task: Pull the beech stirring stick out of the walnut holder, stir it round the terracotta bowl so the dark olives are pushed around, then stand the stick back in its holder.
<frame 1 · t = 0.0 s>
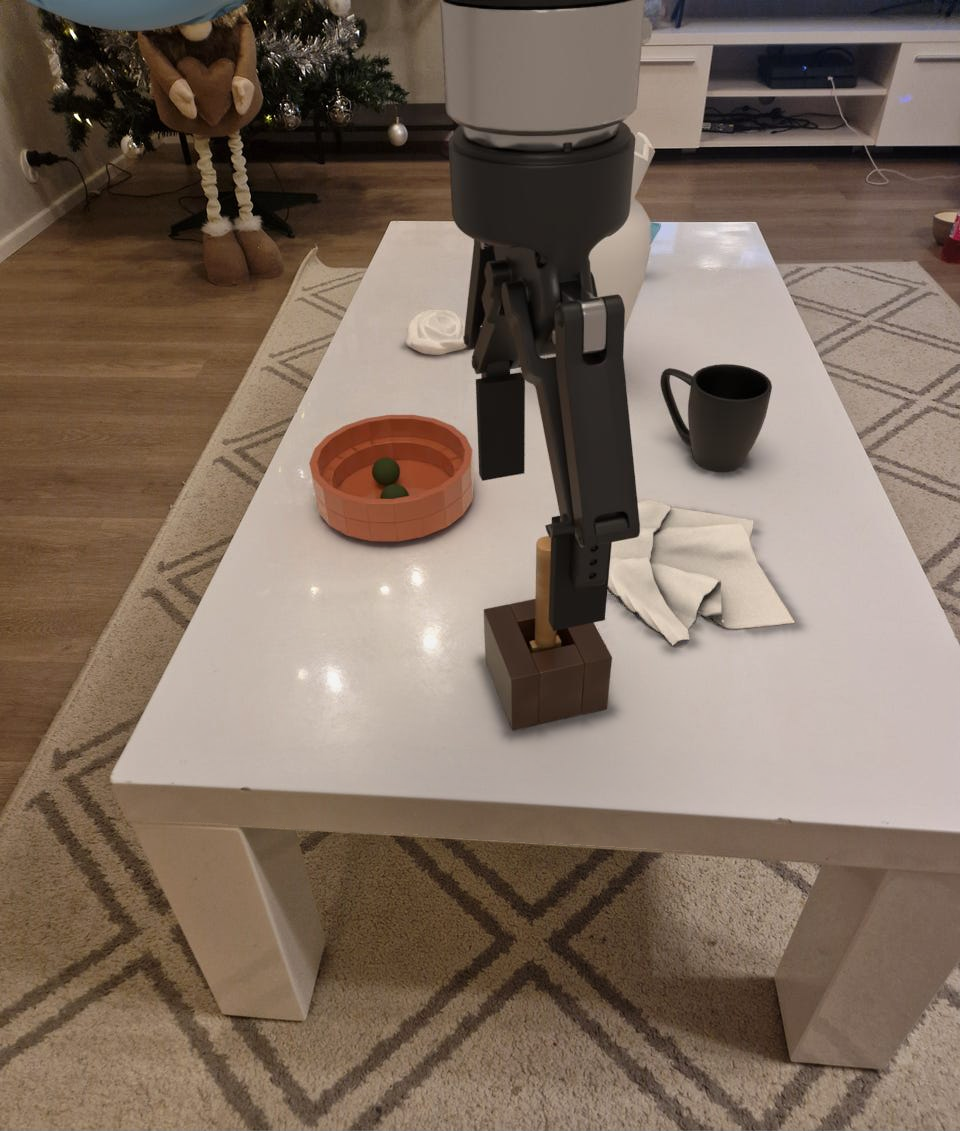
hand: (535, 540, 48), 24 cm above the table, tool pointing down, fingers open, 13 cm apart
holder: (544, 683, 71), on the table
olive a: (386, 471, 92), point 2 cm above the table, touching bowl
vase: (578, 386, 110), on the table
bowl: (396, 499, 92), on the table
olive b: (394, 498, 88), point 2 cm above the table, touching bowl
stick: (546, 618, 66), in the holder
rose: (440, 342, 121), on the table
mug: (702, 454, 97), on the table
cloth: (681, 571, 82), on the table
teapot: (585, 278, 137), on the table
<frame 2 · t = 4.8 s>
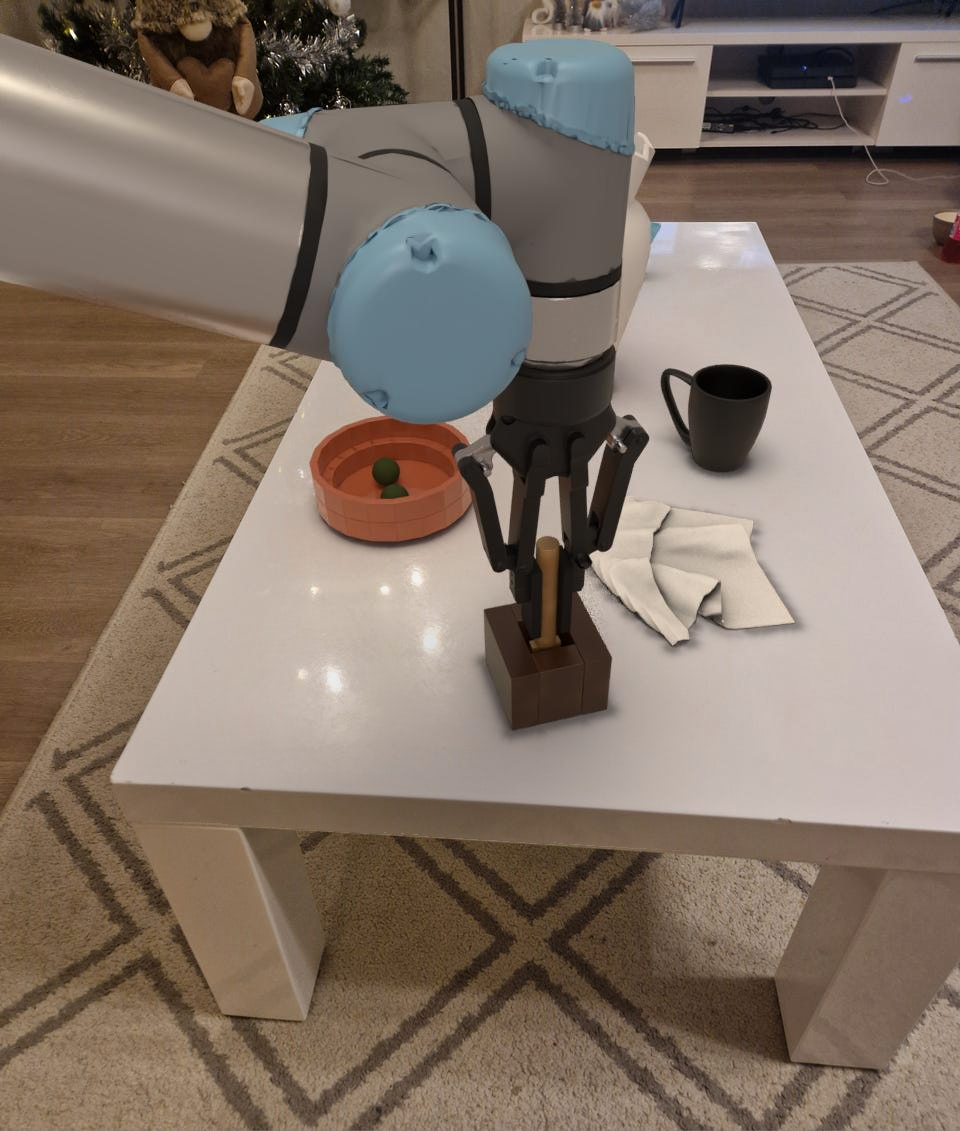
hand: (545, 623, 67), 7 cm above the table, tool pointing down, fingers closed on stick, 2 cm apart
stick: (545, 618, 66), in the holder, touching gripper
everything else where it was.
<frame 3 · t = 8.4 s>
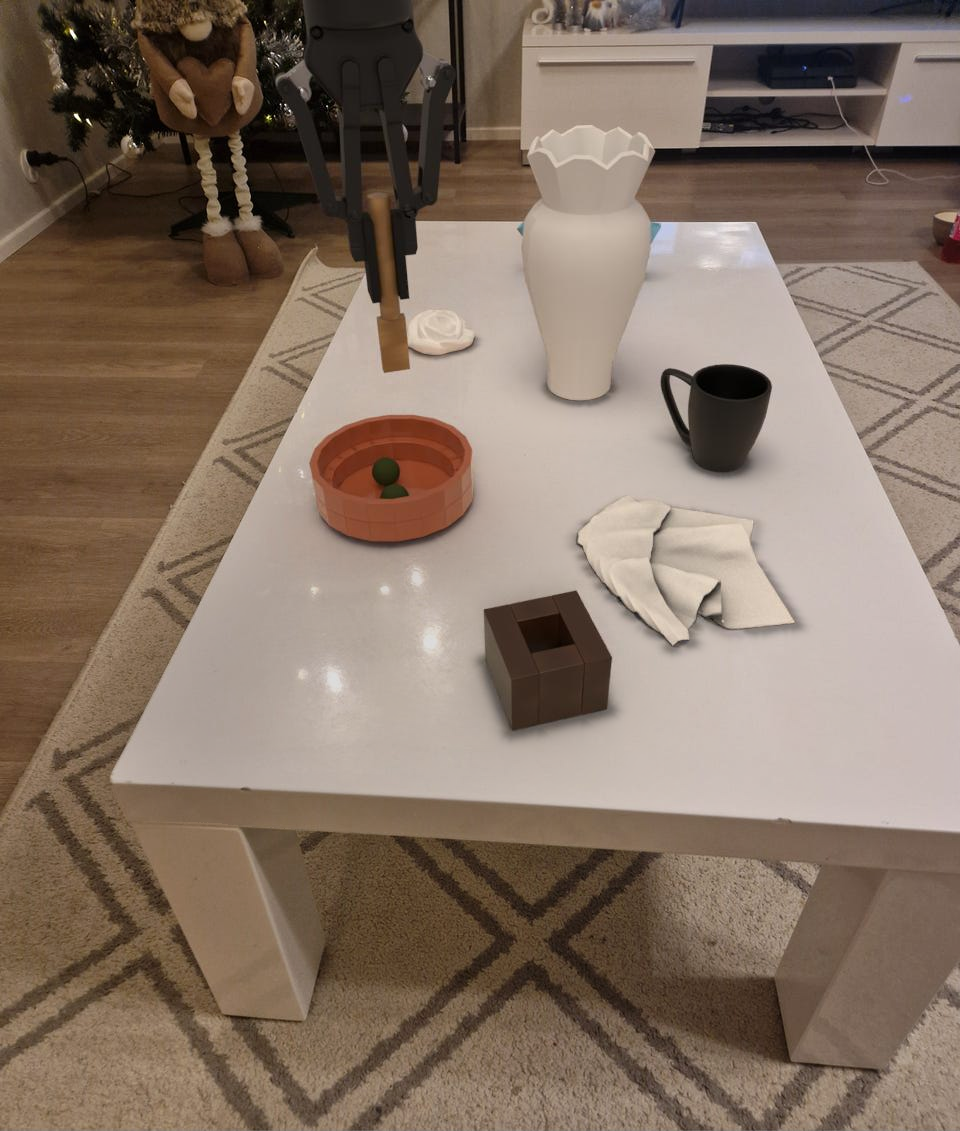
hand: (388, 294, 73), 25 cm above the table, tool pointing down, fingers closed on stick, 2 cm apart
stick: (387, 288, 72), point 25 cm above the table, touching gripper
everything else where it was.
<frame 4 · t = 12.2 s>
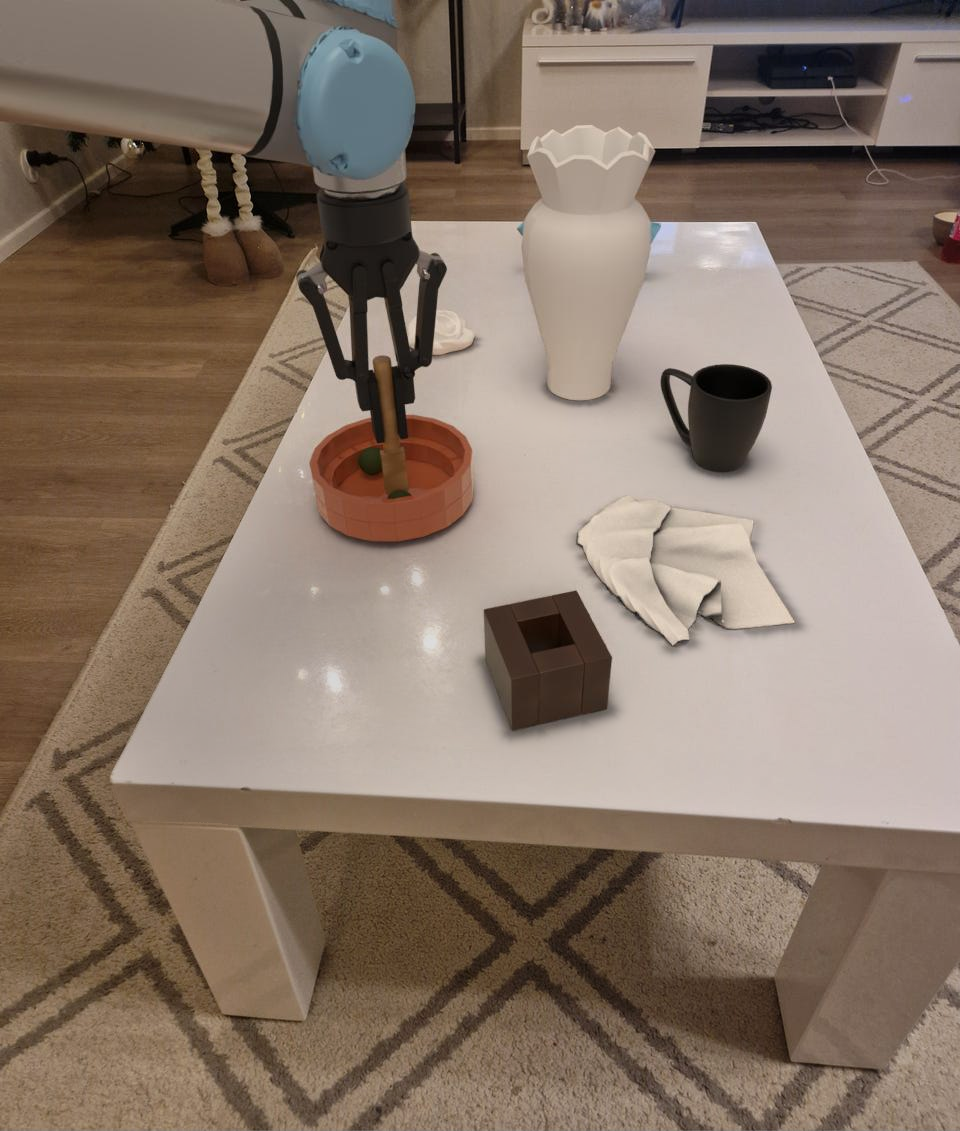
hand: (390, 433, 85), 9 cm above the table, tool pointing down, fingers closed on stick, 2 cm apart
olive a: (372, 461, 94), point 2 cm above the table, tilted 102°, touching bowl
olive b: (400, 504, 87), point 2 cm above the table, tilted 46°, touching bowl
stick: (389, 428, 85), point 10 cm above the table, touching gripper
everything else where it was.
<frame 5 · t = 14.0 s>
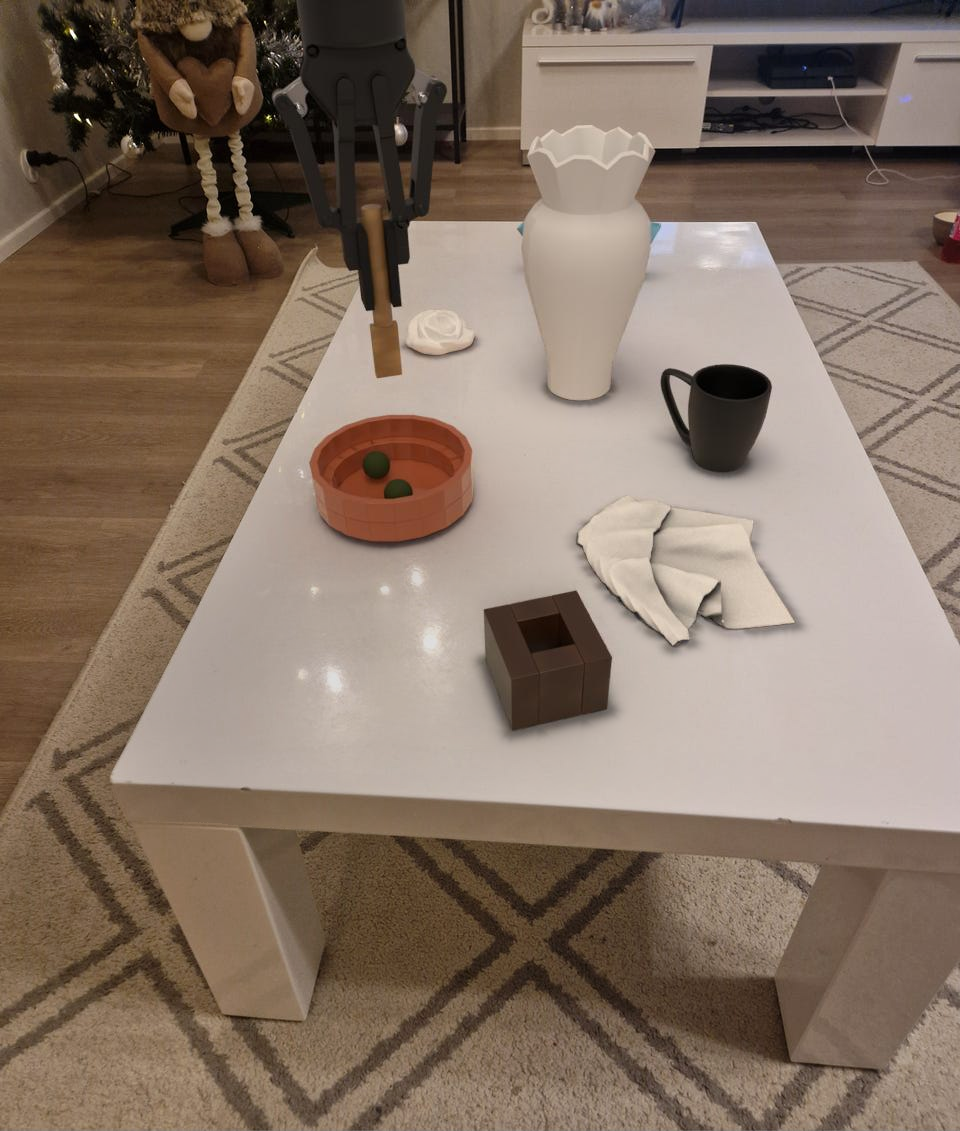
hand: (381, 302, 75), 23 cm above the table, tool pointing down, fingers closed on stick, 2 cm apart
olive a: (376, 465, 93), point 2 cm above the table, tilted 65°, touching bowl
olive b: (398, 493, 89), point 2 cm above the table, tilted 34°, touching bowl
stick: (380, 296, 74), point 24 cm above the table, touching gripper
everything else where it was.
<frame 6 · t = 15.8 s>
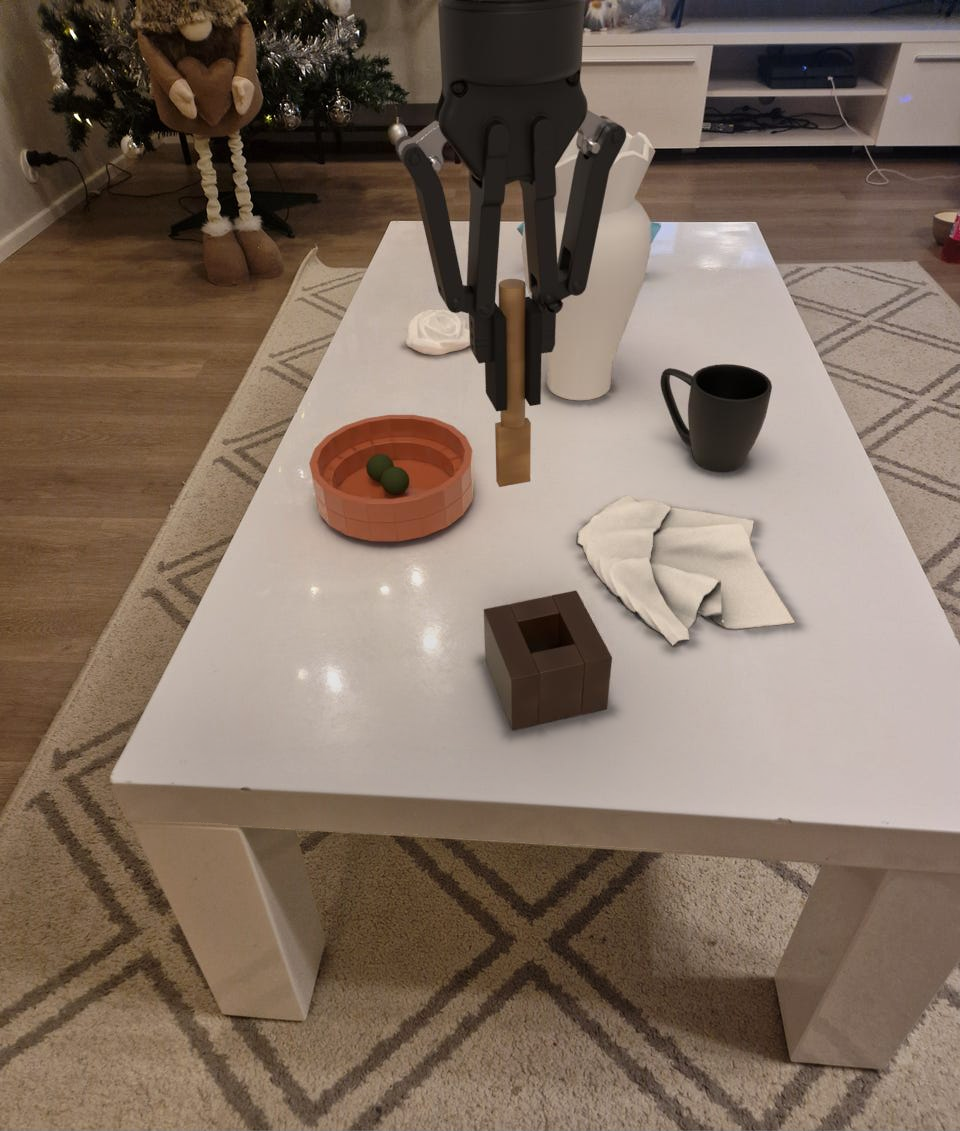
hand: (512, 397, 59), 24 cm above the table, tool pointing down, fingers closed on stick, 2 cm apart
olive a: (380, 468, 92), point 2 cm above the table, tilted 36°, touching bowl
olive b: (395, 480, 91), point 2 cm above the table, tilted 120°, touching bowl
stick: (512, 390, 59), point 25 cm above the table, touching gripper
everything else where it was.
when the fingers open (7 cm above the table, at t = 21.1 s): stick stays where it is, resting in holder.
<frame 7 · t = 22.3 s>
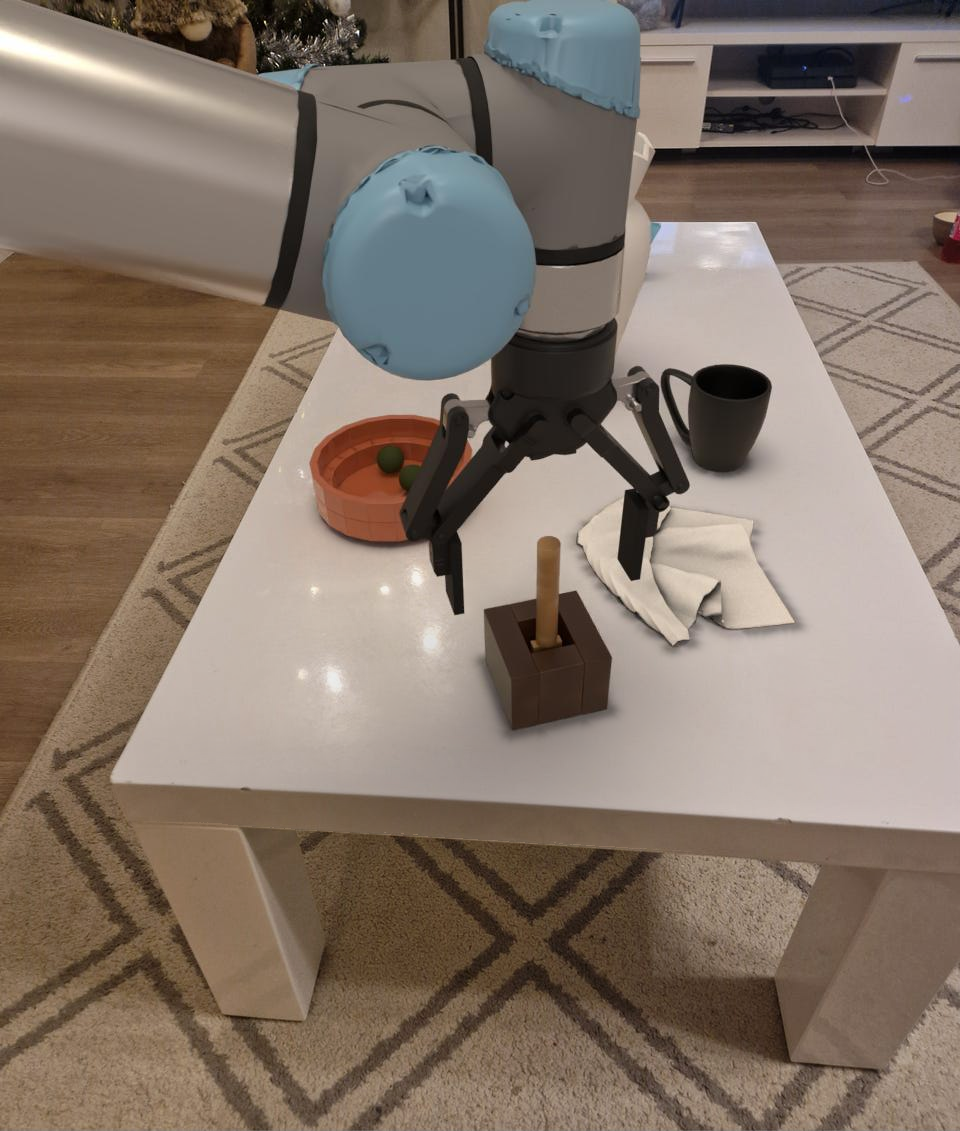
hand: (543, 585, 64), 11 cm above the table, tool pointing down, fingers open, 13 cm apart
olive a: (390, 459, 94), point 2 cm above the table, tilted 87°, touching bowl
olive b: (412, 478, 91), point 2 cm above the table, tilted 108°, touching bowl
stick: (546, 618, 66), in the holder
everything else where it was.
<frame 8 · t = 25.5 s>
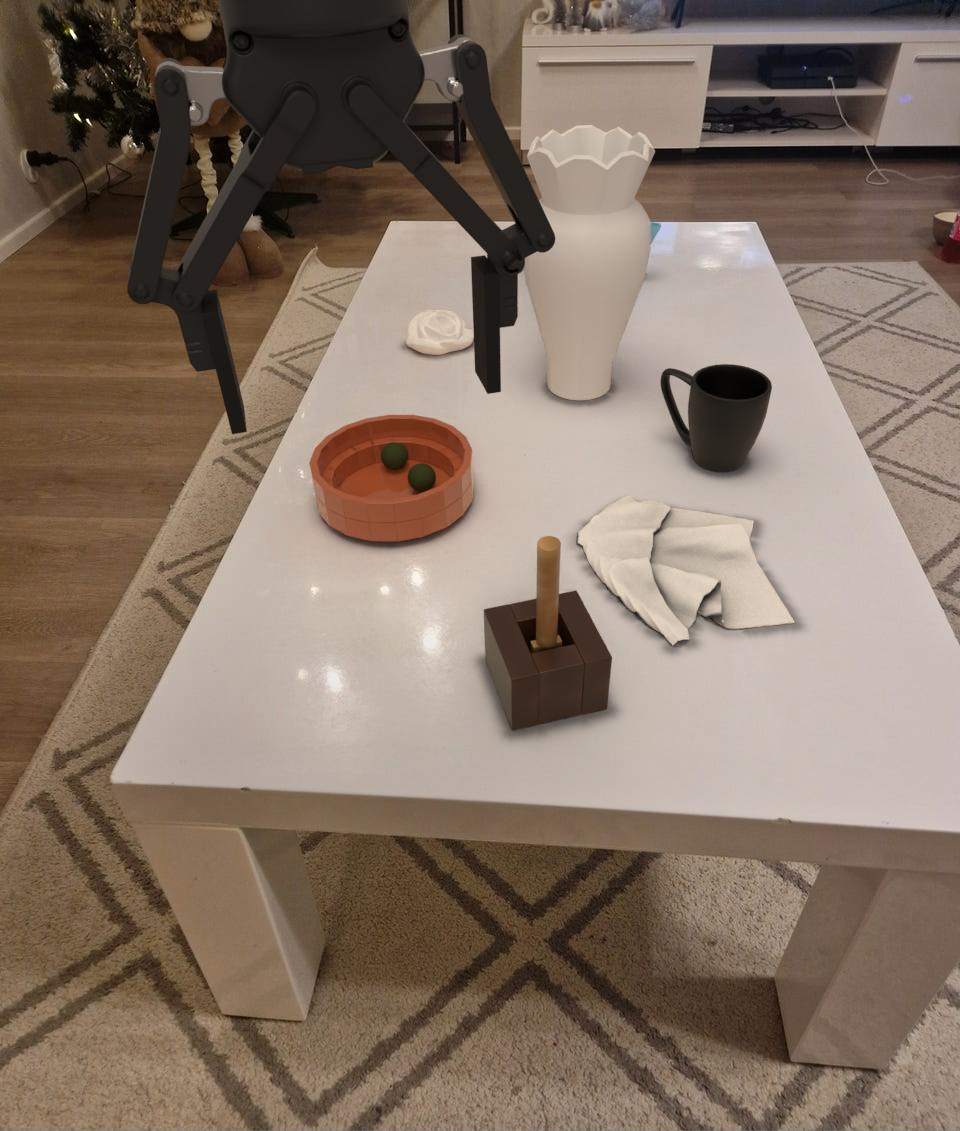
hand: (366, 401, 46), 31 cm above the table, tool pointing down, fingers open, 13 cm apart
olive a: (394, 456, 94), point 2 cm above the table, tilted 112°, touching bowl
olive b: (421, 477, 91), point 2 cm above the table, tilted 90°, touching bowl
everything else where it was.
at the end: olive a moved 3.1 cm from its start; olive a inside the target area in the bowl (4.9 cm from its centre), point 2.3 cm above the bowl's base; stick 0.1 cm off-centre in the holder, point 7.5 cm above the holder's base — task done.
